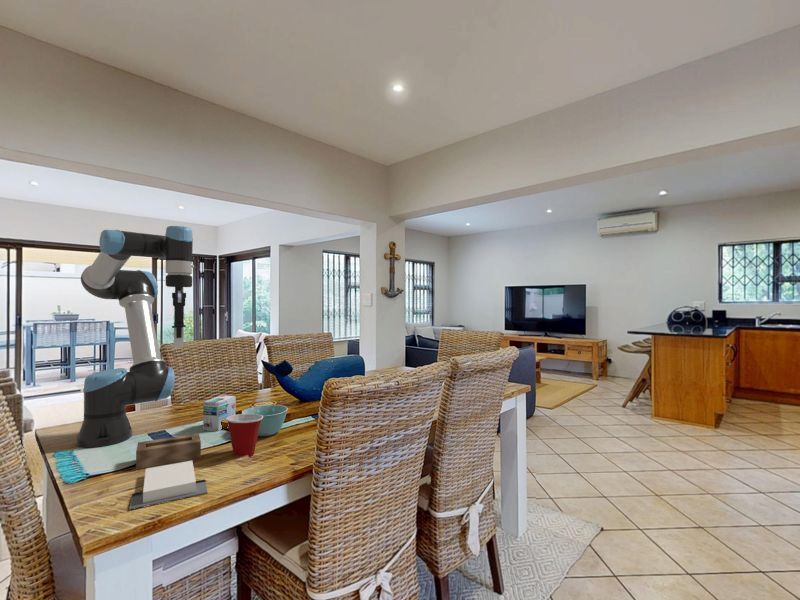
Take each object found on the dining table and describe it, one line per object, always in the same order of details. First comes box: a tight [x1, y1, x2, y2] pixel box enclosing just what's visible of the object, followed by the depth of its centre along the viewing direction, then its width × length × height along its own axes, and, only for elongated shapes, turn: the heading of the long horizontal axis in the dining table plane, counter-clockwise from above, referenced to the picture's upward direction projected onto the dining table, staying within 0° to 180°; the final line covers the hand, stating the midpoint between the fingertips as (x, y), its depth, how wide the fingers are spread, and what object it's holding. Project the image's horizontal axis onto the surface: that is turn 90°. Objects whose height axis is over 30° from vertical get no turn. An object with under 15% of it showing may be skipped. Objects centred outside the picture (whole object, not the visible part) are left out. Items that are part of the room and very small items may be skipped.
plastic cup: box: [226, 413, 263, 458], centre depth 123 cm, size 11×11×12 cm
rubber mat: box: [129, 479, 208, 511], centre depth 103 cm, size 16×20×1 cm
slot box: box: [135, 432, 202, 471], centre depth 117 cm, size 16×8×6 cm, turn 120°
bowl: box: [241, 404, 289, 437], centre depth 144 cm, size 16×16×8 cm
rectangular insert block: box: [142, 460, 197, 503], centre depth 102 cm, size 11×2×15 cm
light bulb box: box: [202, 394, 237, 432], centre depth 150 cm, size 11×7×11 cm, turn 168°
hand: (178, 347), depth 128 cm, fingers closed
